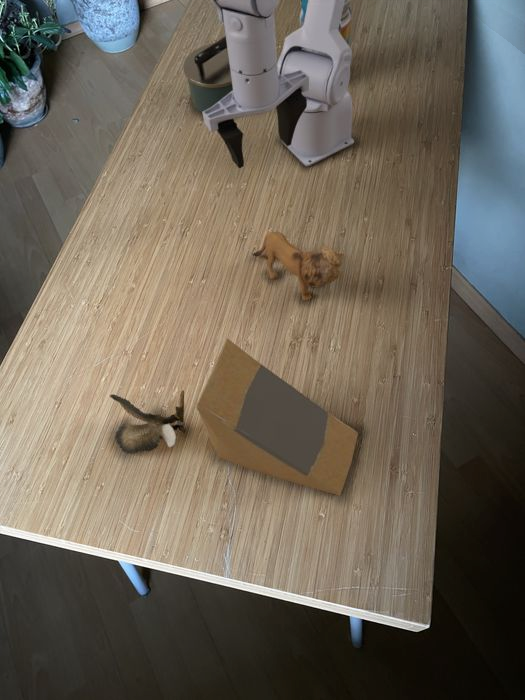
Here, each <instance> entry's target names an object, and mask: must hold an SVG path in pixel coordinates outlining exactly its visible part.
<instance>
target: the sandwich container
mask: <svg viewBox="0 0 525 700" xmlns="http://www.w3.org/2000/svg"><path fill="white" fill-rule="evenodd" d="M195 408H196V410H197V412H198V415H199V417H200V419H201V421H202V423H203V425H204V428H205V430H206V432H207V435H208V437H209V439H210V442H211V443H212V445H213V448H214V450H215V452H216V454H217V456H218V458H219V459H221V460H224V461H227V462H229V463H233V464H236V465H238V466H241V467H244V468H247V469H249V470H252V471H255V472H258V473H261V474H264V475H267V476H270V477H273V478H277V479H280V480H284V481H288V482H291V483H295V484H298V485H301V486H304V487H308V488H312V489H315V490H319V491H323V492H326V493H329V494H332V495H335V496H341V495H342V492H343V490H344V487H345V483H346V480H347V477H348V474H349V471H350V468H351V465H352V462H353V457H354V452H355V449H356V444H357V440H358V436H359V432H358V431H356V430H355V429H354V428H352V427H350V426H349V425H347V424H346V423H345V422H343V421H342V420H341V419H339V418H338V417H336V416H334V415H333V414H332V413H330V412H329V411H327V410H326V409H325V408H323V407H321V406H320V405H319V404H317V403H316V402H314V401H313V400H312V399H310V398H309V397H307V395H305V394H304V393H302V392H301V391H299V390H298V389H297V388H295V387H294V386H292V385H291V384H290V383H289V382H286V381H285V380H284V379H282V378H281V377H280V376H278V375H277V374H276V373H274V372H273V371H272V370H270V369H269V368H267V367H266V366H264V365H263V364H262V363H261V362H259V361H258V360H256V358H253V357H252V356H251V355H250V354H249V353H247V352H246V351H245V350H244V349H242V348H241V347H240V346H238V345H237V344H235V342H233V341H232V340H230V339H229V338H227V337H226V338H225V341H224V343H223V345H222V347H221V349H220V351H219V354H218V356H217V359H216V361H215V362H214V366H213V368H212V370H211V372H210V374H209V376H208V379H207V381H206V382H205V385H204V387H203V389H202V391H201V394H200V396H199V398H198V399H197V402H196V407H195Z"/></svg>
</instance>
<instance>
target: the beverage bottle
mask: <svg viewBox="0 0 525 700" xmlns="http://www.w3.org/2000/svg"><path fill="white" fill-rule="evenodd" d="M351 3H352V0H345V2H344V6H343V11H342V15H341V20H340V24H339V29H338V30H339V32H340V34H341V36H342V37H343V38H344V40H345V41H346V43H347V44H348V45H349V46H350V32H351V21H352V10H351V7H350V5H351ZM299 4H300V8H301V10H300V13H299V24H300V28H301V27H302V26H303V25H304V20H305V15H306V10H307V5H308V0H299ZM302 50H305V51H309V52H313V53H317V54H321V55H325V56H328V57H331V56H330V55H328V54H326V53H323V52H319V51H315V50H311V49H307V48H302Z"/></svg>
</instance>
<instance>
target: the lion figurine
mask: <svg viewBox="0 0 525 700" xmlns="http://www.w3.org/2000/svg"><path fill="white" fill-rule="evenodd" d="M262 243H263V244H262V246H261V248H260V250H258V251H255V252H253V253H252V254H251V255H252V256H253V257H260V256H261V255H263V253H264V252H265V253H266V256H267V268H268V276H269V278H270V280H276V279H277V278H278V273H277V271H276V270H275V268H274V263H275V261H276V260H277V259H278V260H279V261H280V263H281V264H282V266H283V267H284V268H285V269H286V271H288V272H289V273H290V274H291V275H294V276H296V277H297V280H298V282H299V285H300V291H301V298H302V300H303V301H304V302H308V301H310V300H311V299H312V294H310V291H309V288H312V287H314V288H322V286H324V285H326V284H329V283H332V282H334V281H335V280H337V279H338V278H339V277H340V275H341V266H342V265H343V264H344V262H345V254H344V253H341V252H340V253H337V252H336V251H335V250H334V249H331V248H329V247H328V246H322V248H321V249H319V250H317V251H314V250H310V251H307V252H306V253H305V252H304V251H302V250H301V249H300V248H298V247H296V246H294V245H293V244H292V243H290V242H289V240H288V239H287V237H286V235H285V234H284V233H282V232H281V231H274V232H270V231H269V232H268V233H266V234H265V236H264V240H263V242H262ZM276 258H277V259H276Z"/></svg>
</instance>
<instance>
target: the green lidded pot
mask: <svg viewBox="0 0 525 700" xmlns="http://www.w3.org/2000/svg"><path fill="white" fill-rule="evenodd" d="M182 68H183V73H184V76H185V77H186V79H187V83H188V89H189V92H190V93H189V94H190V97H191V101H192V105H193V107H194V108H195V109H196V111H198V112H199V113H201V114H203V113H202V112H203V111H205V110H207V109H209V108H210V107H212V106H213V105H215V104H216V103H217V102H219V101H220V100H221V99H222V98H224V97H225V96H226V95H227V94H229V93H230V92H231V91H232V90H233V86H232V78H231V71H230V64H229V56H228V49H227V41H226V35H225V36H223V37H221V38H220V39H218V40H217V41H216V42H211V43H208V44H205V45H202V46H200V47H198V48H195V50H192V52H190V53H189V54H188V55H187V57H186V58H185V60H184V62H183V67H182Z"/></svg>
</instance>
